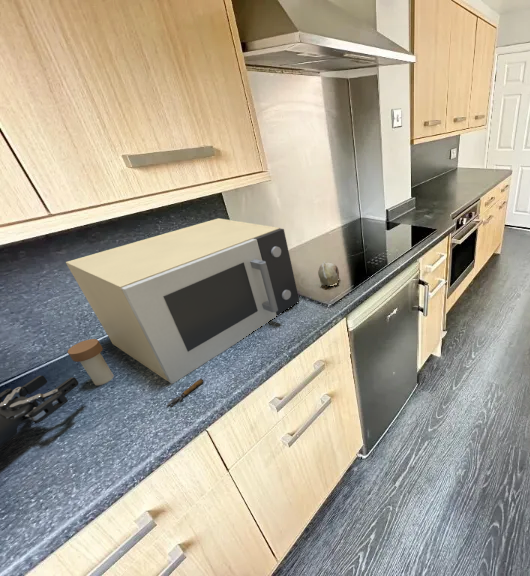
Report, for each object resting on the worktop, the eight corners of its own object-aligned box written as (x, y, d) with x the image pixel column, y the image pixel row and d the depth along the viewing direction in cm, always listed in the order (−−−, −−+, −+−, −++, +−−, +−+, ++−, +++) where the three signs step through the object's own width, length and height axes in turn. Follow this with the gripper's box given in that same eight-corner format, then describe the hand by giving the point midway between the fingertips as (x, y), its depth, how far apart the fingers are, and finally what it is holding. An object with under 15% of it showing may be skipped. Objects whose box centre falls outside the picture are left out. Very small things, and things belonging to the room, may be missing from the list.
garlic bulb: (328, 295, 120) (319, 276, 113) (317, 284, 125) (308, 266, 118) (348, 281, 123) (340, 262, 116) (336, 271, 128) (328, 253, 121)
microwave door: (287, 321, 101) (268, 241, 88) (182, 391, 76) (135, 294, 63) (273, 316, 104) (253, 238, 91) (168, 381, 79) (120, 287, 67)
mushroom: (84, 390, 79) (61, 355, 74) (99, 374, 84) (77, 340, 79) (110, 385, 79) (88, 351, 74) (122, 370, 84) (103, 337, 79)
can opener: (201, 380, 79) (200, 377, 78) (207, 384, 78) (205, 380, 77) (164, 406, 72) (162, 403, 71) (169, 410, 71) (167, 406, 70)
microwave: (301, 303, 110) (285, 228, 98) (173, 385, 78) (125, 289, 66) (238, 283, 128) (218, 218, 115) (112, 344, 96) (65, 262, 83)
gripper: (-13, 432, 55) (78, 367, 69) (-77, 426, 57) (24, 365, 71) (13, 459, 58) (94, 392, 73) (-48, 453, 60) (42, 389, 75)
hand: (59, 379), depth 72 cm, fingers open, 8 cm apart
